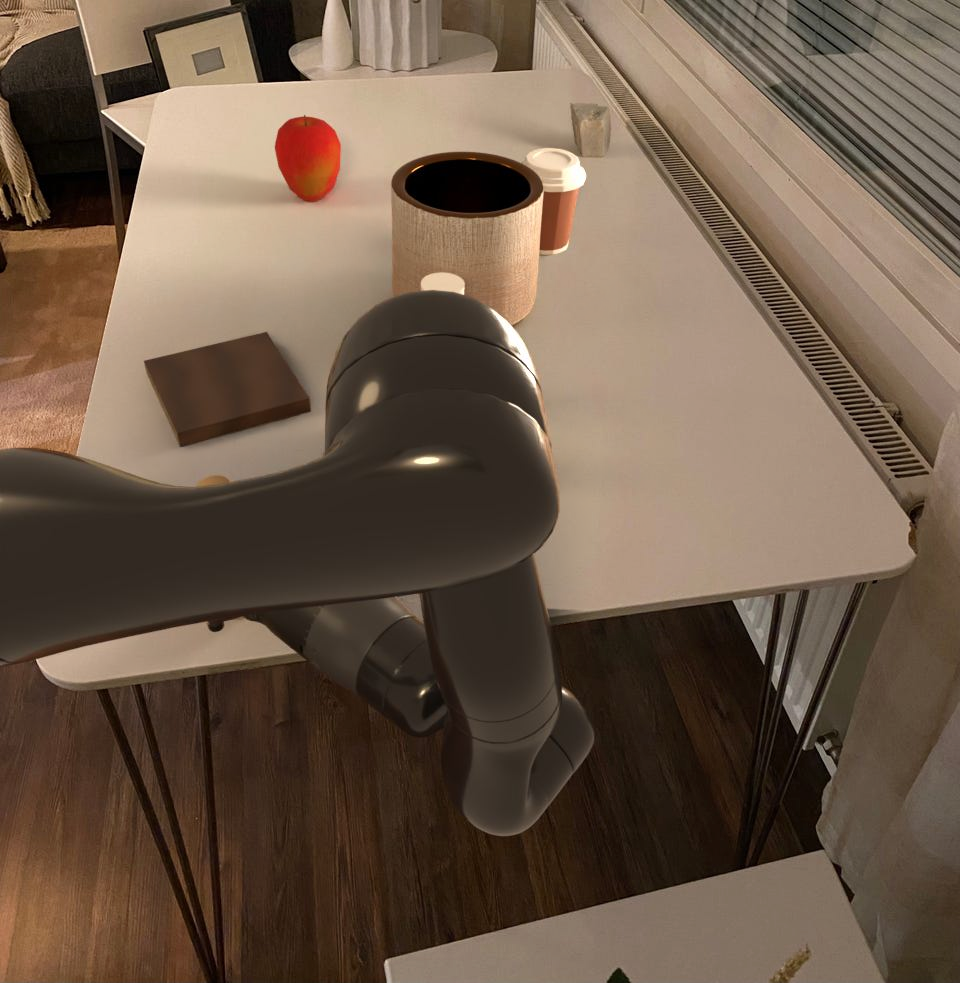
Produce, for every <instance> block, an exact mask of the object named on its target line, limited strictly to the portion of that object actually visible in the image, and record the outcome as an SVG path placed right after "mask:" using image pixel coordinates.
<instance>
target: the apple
mask: <svg viewBox="0 0 960 983" xmlns="http://www.w3.org/2000/svg"><path fill="white" fill-rule="evenodd" d="M341 147H342V144H341V140H340V139H339V136H338V134H337V131H336V130H335V129H334V128H333V127H332V126H331V125H330V124H329V123H328V122H326V121H325V120H324V119H320V118H318V117H313V116H306V114H304V115H303V116H297V117H292V118H289V119H288V120H286V121H285V122H284V123H283V124H282V125H281V126H280V127H279V128H278V130H277V134H276V137H275V142H274V153H275V157H276V161H277V167H278V169H279V171H280V173H281V175H282V177H283V179H284V181H285V183H286V185H287V187H288V188H289V190H290V191H291V192H292V193H293V194H294V195H296V196H297V197H298V198H299V199H301V200H302V201H304V202H307V203H314V202H319V201H320V200H322V199H323V198H324V197H325V196H327V195H328V194H329V193H330V192H331V191H332V190H333V189H334V188H335V186H336V182H337V179H338V176H339V174H340V170H341V159H342V158H341V156H342V148H341Z"/></svg>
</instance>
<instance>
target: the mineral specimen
mask: <svg viewBox="0 0 960 983" xmlns="http://www.w3.org/2000/svg"><path fill="white" fill-rule="evenodd" d="M569 108H570V114H571V116H570V119H571V126H572V130H573V131H572V133H573V138H574V139H573V141H574V144H575V146H576V147H577V149H578V151H579V153H580V155H581V157H583V158H595V157H598V158H603V157H604V156H605V155H606V154H607V152H608V150H609V147H610V143H611V135H612V134H611V132H612V121H611V119H612V118H611V111H610V108H609V107H608V106H605V105H603V106H601V105H600V106H599V105H598V104H597V103H586V102H585V103H582V102H581V103H580V102H575V103H570V107H569Z"/></svg>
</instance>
